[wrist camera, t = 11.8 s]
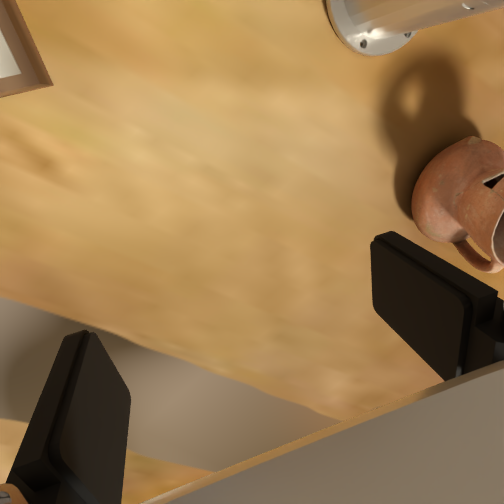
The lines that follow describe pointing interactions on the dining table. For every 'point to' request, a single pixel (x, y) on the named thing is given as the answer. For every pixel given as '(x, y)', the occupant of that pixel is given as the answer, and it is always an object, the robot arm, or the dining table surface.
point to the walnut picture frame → (18, 54)
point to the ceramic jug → (464, 200)
